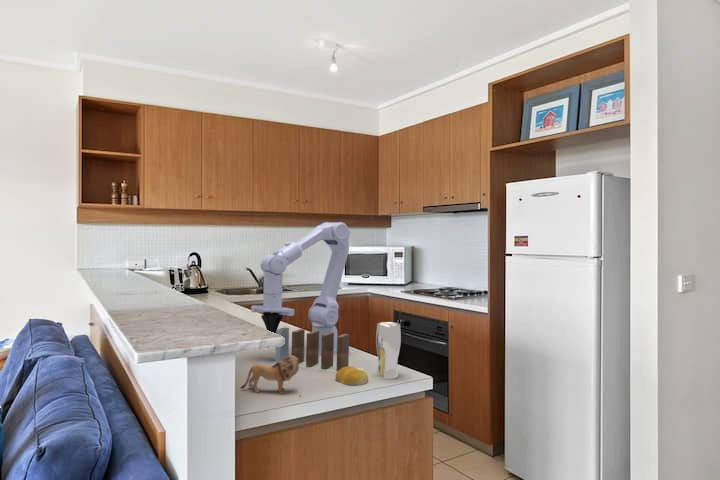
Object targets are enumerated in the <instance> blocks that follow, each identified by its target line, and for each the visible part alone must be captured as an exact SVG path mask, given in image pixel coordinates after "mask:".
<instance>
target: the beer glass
mask: <svg viewBox="0 0 720 480" xmlns="http://www.w3.org/2000/svg"><path fill="white" fill-rule="evenodd" d="M401 335H402V334H401V324H400V323H398V322H394V321H393V322H391V321H380V322H378V323H377V324H376V335H375V343H376V344H375V345H376V353H377V359H378V360H377V361H378V362H377V363H378V364H377V365H378V366H377V372H376V377H377V378H379V379H385V380H394V379H398V378H399V373H398V372H399V371H398V362H399V361H398V360H399V359H398V358H399V355H400V350H401V349H400V348H401V343H402V342H401V341H402V340H401V339H402V337H401Z"/></svg>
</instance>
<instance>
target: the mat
mask: <svg viewBox="0 0 720 480" xmlns="http://www.w3.org/2000/svg"><path fill="white" fill-rule="evenodd" d="M275 362H276V360H275V361H273V362H272V364H274V365H275V364H276V363H275ZM299 368H301V369H302V368H303V369H309V370H316V371H323V372H330V373H337V372H338V371H336V368H337V364H333V366H331V367H330V368H328V369H326V370H325V369H321V362H318V364H317V365H315V366H313V367H311V368H310V367H306V360H304V362H302V363H300V364H299ZM356 368H357V369H358V370H361V371H364V372H365V370H366V368H361V367H356Z"/></svg>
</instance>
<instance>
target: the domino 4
mask: <svg viewBox="0 0 720 480" xmlns="http://www.w3.org/2000/svg"><path fill="white" fill-rule="evenodd" d="M333 351H334V333H333V332H328V333H326V334H323V335H322V346H321V354H320V358H321V359H320V363H321V369H325V370H326V369H328V368H330V367H331V366H333V365H334V353H333Z"/></svg>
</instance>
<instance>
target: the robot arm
mask: <svg viewBox="0 0 720 480" xmlns="http://www.w3.org/2000/svg"><path fill="white" fill-rule="evenodd" d="M350 235H351V231H350V229H349V228H348V226H347V224H346V223H344V221H343V222H342V221H340V222H328V221H325V222H323V223H321V224H319V225H317V226H316V227H315V228H314V229H312V230H311V231H310V232H309V233H307V234H306V235H304V236H303V237H302V238H300V239H299V240H297V242H295V241H287V242H285V243H284V246H282V247H281V248H279V249H278V250H274V251H273V253H272V254H268V255H265V256H264V257H263V259H262V260H261V263H260V265H259V266H260V269H261V270H262V271H263V297H262V298H263V300H262V301H263V304H262V305H251V307H250V309H251V310H250V313H259V314H260V313H261V314H262V315H261V319H262V321H263V324H264V326H265V328H266V331H267V330H269V331H271V332H274V333H276V330H278V329H279V325H280V322H281V321H282V319H283V318H284V316H288V317H292V316H293V317H294V316H295V308H290V307H284V306H283V273H284V272H285V271H286V270H287V267H288V266H289V265H291V264H293V263H294V262H295V261H296V260H298V259H300V258H301V257H302V255H303V251H305V250H307V249H308V248H310V247H312V246H313V245H315V244H317V243H319V242H320V241H323V242H324V243H325V244H326V245H327V246H328V247H329V249H330V251H331V255H330V259H329V262H328V266H327V269H326V272H325V276H324V279H323V283H322V287H321V291H320V295H319V296H317V297H316V298H314V301H313V304H312V306H311V307H310V308H309V310H308V314H307V315H308V318H309V321H310V322H311V325H312V328H311V330H312V331H314V330H315V331H319V355H321V346H322V335H323V334H326V333H328V332H333V333H334V351H333V354H335V352H336V353H337V337H338V329H337V327H336V326H335V325H336V324H337V322H338V320H339V308H340V305H339V303H338V301H337V300H336V299H337V295H338V292H339V288H340V284H341V282H342V277H343V274H344V270H345V266H346V263H347V259H348V255H349V251H350V244H349V243H350V242H349V240H350ZM312 331H311V332H312Z"/></svg>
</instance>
